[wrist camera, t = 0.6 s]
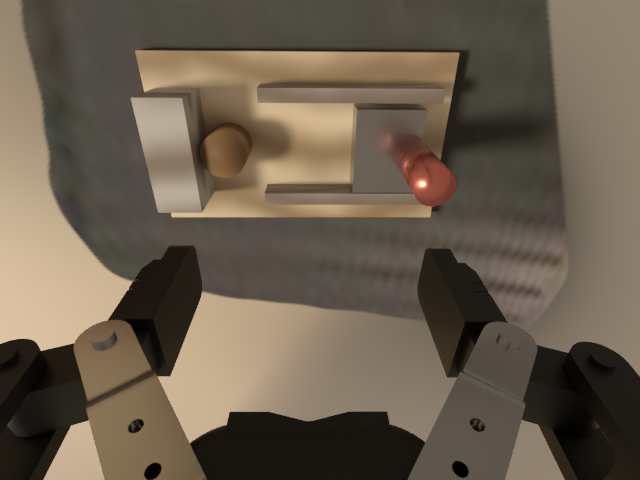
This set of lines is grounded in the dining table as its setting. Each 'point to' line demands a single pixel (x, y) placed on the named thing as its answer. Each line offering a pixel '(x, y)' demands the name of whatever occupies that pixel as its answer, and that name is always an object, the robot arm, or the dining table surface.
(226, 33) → the dining table surface
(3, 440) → the robot arm
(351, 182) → the plate with copper rod
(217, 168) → the nut
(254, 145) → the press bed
